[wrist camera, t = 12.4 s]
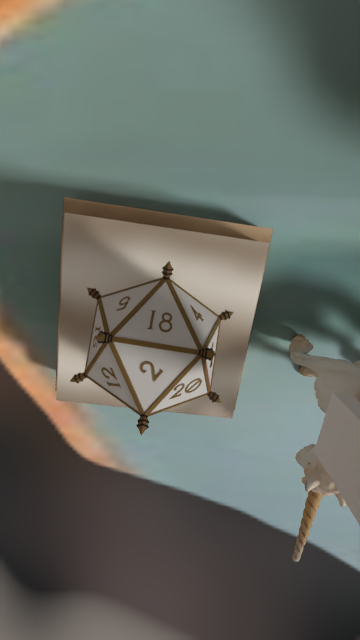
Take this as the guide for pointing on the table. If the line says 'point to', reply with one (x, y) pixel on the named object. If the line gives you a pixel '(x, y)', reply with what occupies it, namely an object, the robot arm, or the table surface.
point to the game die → (153, 346)
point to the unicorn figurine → (329, 379)
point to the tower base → (146, 265)
